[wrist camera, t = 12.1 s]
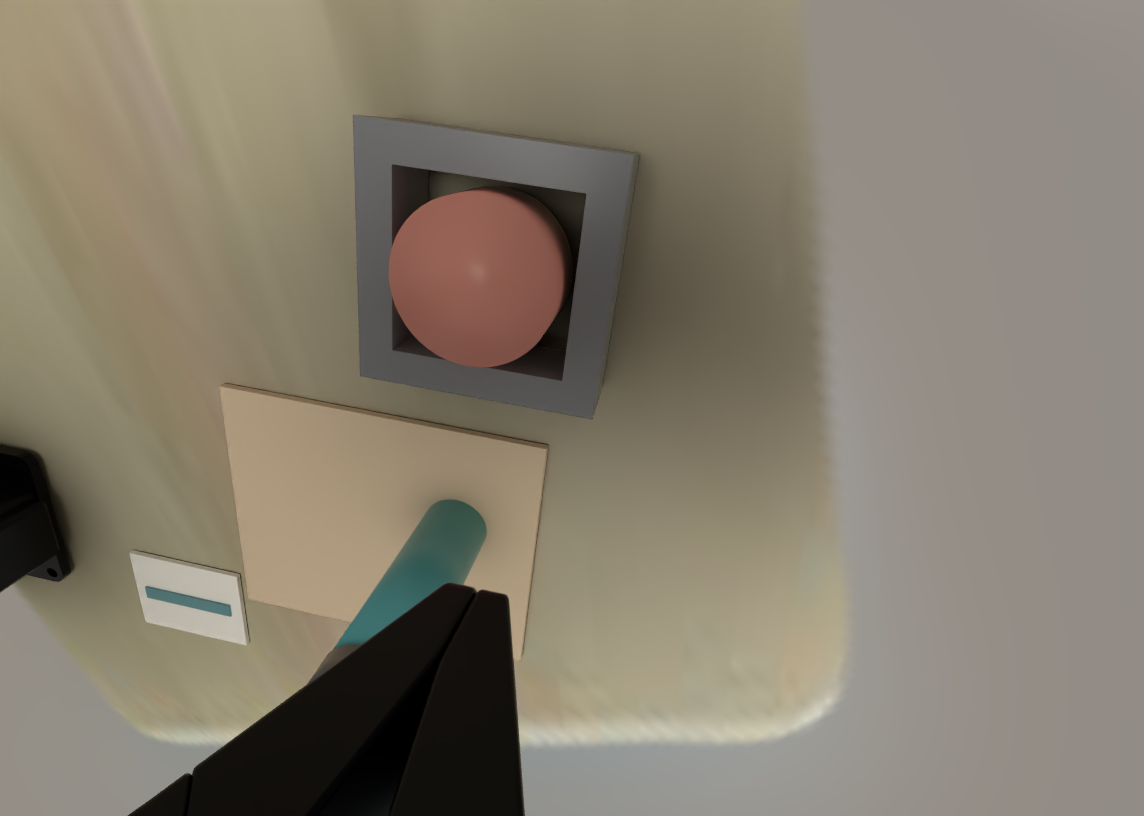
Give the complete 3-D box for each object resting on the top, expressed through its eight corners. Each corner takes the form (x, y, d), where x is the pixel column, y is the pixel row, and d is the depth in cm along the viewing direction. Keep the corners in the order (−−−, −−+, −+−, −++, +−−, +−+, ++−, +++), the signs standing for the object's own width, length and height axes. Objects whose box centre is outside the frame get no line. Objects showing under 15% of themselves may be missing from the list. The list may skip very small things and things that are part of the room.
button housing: (396, 349, 20) (360, 376, 18) (395, 118, 17) (353, 114, 15) (602, 386, 19) (592, 419, 17) (640, 153, 16) (634, 155, 14)
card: (149, 618, 28) (143, 623, 27) (132, 550, 26) (127, 554, 26) (249, 642, 27) (245, 647, 27) (239, 573, 25) (234, 578, 25)
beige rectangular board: (253, 594, 26) (248, 599, 26) (224, 383, 22) (219, 386, 21) (522, 655, 25) (520, 660, 24) (548, 445, 20) (546, 449, 20)
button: (424, 326, 18) (388, 351, 16) (427, 174, 17) (388, 180, 14) (563, 350, 18) (546, 380, 16) (582, 198, 16) (567, 208, 14)
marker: (422, 546, 23) (300, 740, 15) (424, 492, 22) (293, 672, 14) (485, 560, 23) (392, 764, 15) (490, 505, 22) (392, 696, 14)
